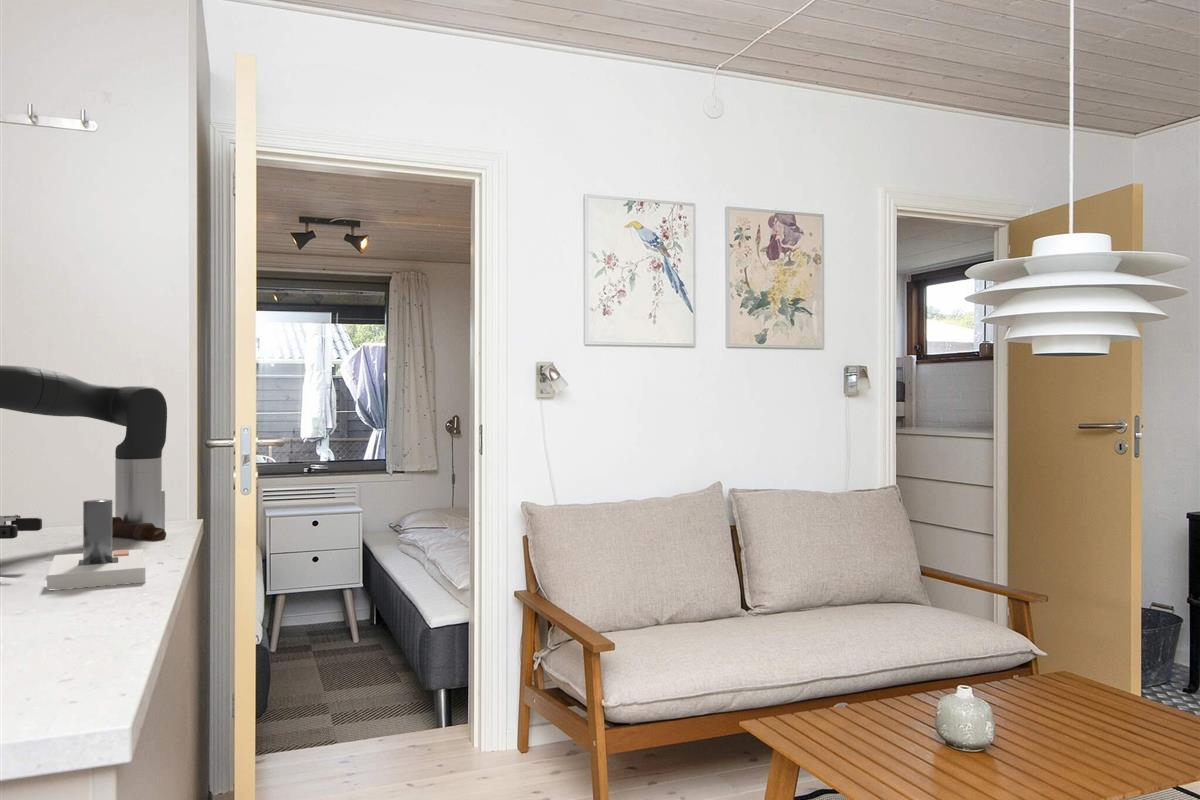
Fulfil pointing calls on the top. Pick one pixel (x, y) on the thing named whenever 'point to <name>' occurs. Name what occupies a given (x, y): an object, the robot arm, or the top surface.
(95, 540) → the cylinder
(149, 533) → the bolt
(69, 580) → the plate
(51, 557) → the mat
